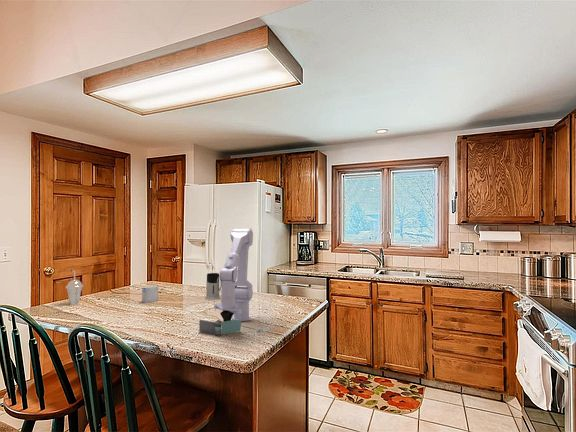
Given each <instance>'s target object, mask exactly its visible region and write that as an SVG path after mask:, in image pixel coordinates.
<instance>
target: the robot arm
mask: <svg viewBox="0 0 576 432" xmlns="http://www.w3.org/2000/svg"><path fill="white" fill-rule="evenodd" d="M253 238H254V232H253V230H252V228H234V227H233V228H232V229H231V230H230V241H231V243H232V244H231V248H230V253H229V254H227V255H226V259H225V262H224V266H223V268H221V269H220V270H219V277H220V278H219V286H220V285H221V290H220V292H221V293H220V294H221V296H220V303H219V302H218V303H214V309H215V310H217V309H218V310H220V316H221V318H222V321H230V320H237V319H241V322H246V321H247V322H249V321H252V318H251V317H250V301H251V300H252V299H253V294H254V292H253V284H252V283H251V282H250V281H249V280H248V270H249V269H248V267H249V265H248V264H249V249H250V247H251V246H253V242H254V241H253V240H254V239H253Z"/></svg>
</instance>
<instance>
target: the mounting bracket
mask: <svg viewBox="0 0 576 432" xmlns="http://www.w3.org/2000/svg"><path fill="white" fill-rule="evenodd" d="M270 329H271V328H269V327H264V326H258V327H256V328H255V330H256V332H258V333H261V332H262V333H264V332H265V333H267V332H268V331H270Z"/></svg>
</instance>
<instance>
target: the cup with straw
mask: <svg viewBox="0 0 576 432" xmlns="http://www.w3.org/2000/svg"><path fill="white" fill-rule="evenodd" d="M70 271H71V272H73V279H72V280H70V281H69V282H68V283H67V284H66V286H65V289H66V291H67V295H68V304H69V306H78V305H79V304H80V300H81V299H80V298H81V292H82V289H83V287H84V284H82V282H81V281H80V280H78V279H76V270H73V269H71V270H70Z"/></svg>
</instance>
